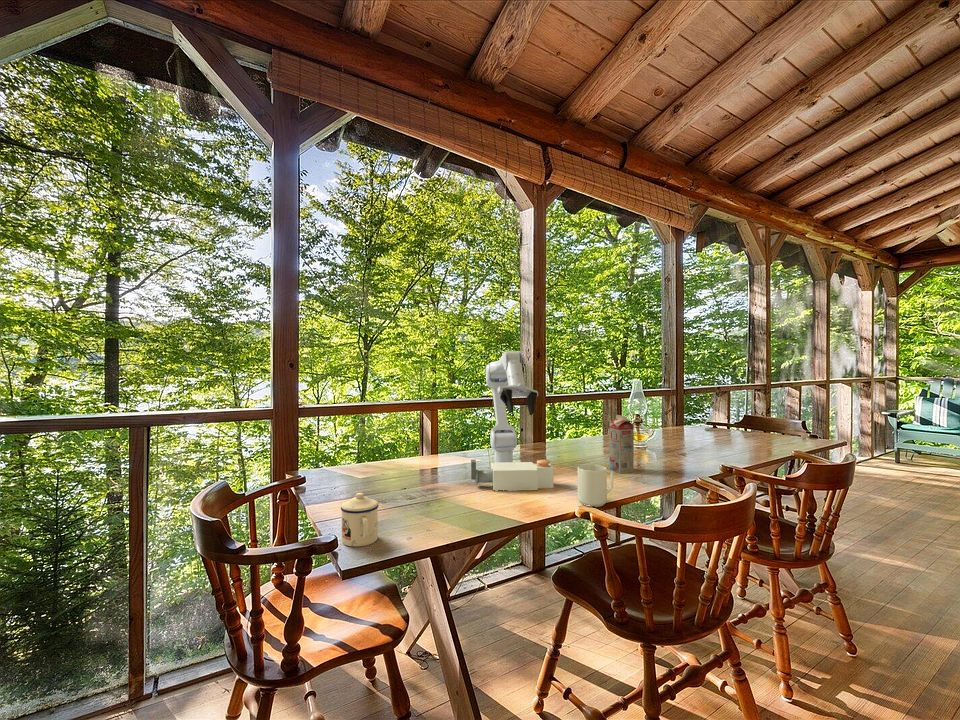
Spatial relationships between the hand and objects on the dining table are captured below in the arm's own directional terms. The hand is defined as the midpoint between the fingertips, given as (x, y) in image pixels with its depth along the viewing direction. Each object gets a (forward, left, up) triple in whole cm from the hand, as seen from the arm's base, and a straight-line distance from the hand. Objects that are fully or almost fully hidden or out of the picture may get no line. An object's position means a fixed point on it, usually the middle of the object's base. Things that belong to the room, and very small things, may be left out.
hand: (521, 412), depth 159 cm
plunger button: (-8, +9, -22) cm, 25 cm away
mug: (+12, +22, -27) cm, 37 cm away
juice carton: (-28, +44, -27) cm, 59 cm away
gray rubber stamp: (-8, -10, -26) cm, 29 cm away
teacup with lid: (+40, -45, -27) cm, 66 cm away
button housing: (-8, +1, -27) cm, 28 cm away
